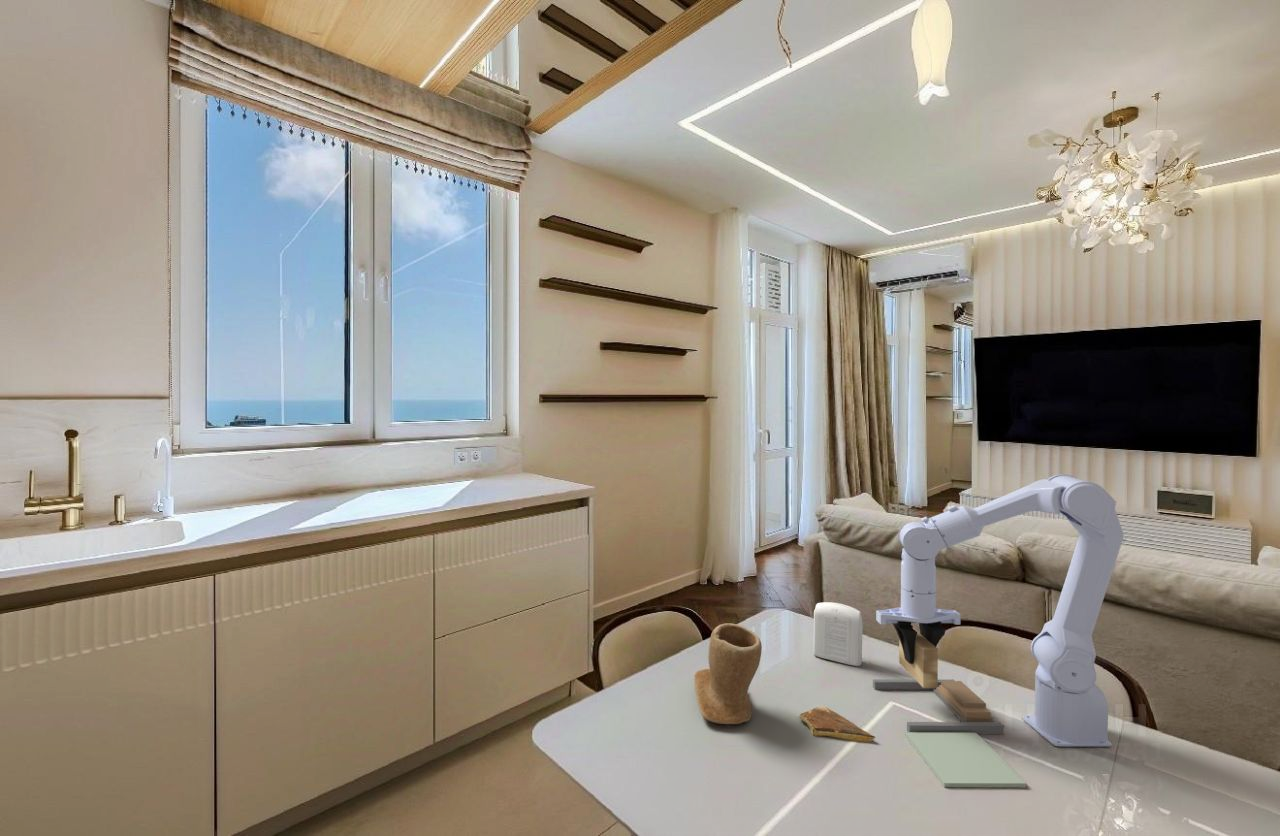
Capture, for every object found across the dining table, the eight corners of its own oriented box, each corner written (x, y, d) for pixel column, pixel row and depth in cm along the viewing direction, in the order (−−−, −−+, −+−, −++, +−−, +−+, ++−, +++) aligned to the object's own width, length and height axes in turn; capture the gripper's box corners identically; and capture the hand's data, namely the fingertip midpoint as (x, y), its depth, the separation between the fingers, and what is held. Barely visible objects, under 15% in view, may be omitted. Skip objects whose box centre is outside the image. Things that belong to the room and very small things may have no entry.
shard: (875, 745, 89) (875, 735, 89) (844, 761, 85) (844, 750, 85) (824, 712, 98) (824, 703, 98) (794, 725, 95) (794, 715, 95)
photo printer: (863, 660, 117) (863, 605, 116) (860, 669, 113) (860, 611, 113) (815, 649, 122) (815, 596, 122) (811, 657, 118) (811, 602, 118)
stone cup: (767, 731, 92) (767, 646, 92) (698, 729, 93) (698, 645, 92) (752, 684, 107) (752, 611, 107) (693, 683, 108) (693, 611, 107)
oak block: (912, 662, 103) (912, 627, 102) (937, 687, 94) (937, 648, 93) (899, 662, 103) (899, 627, 103) (923, 687, 94) (923, 648, 94)
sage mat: (976, 735, 90) (976, 732, 90) (1026, 787, 78) (1026, 783, 78) (905, 735, 91) (905, 732, 91) (944, 787, 79) (944, 783, 79)
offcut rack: (953, 686, 106) (953, 672, 106) (1003, 734, 91) (1004, 717, 91) (872, 686, 106) (872, 672, 106) (909, 733, 91) (909, 716, 91)
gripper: (945, 581, 102) (944, 650, 102) (869, 581, 102) (869, 651, 102) (967, 594, 95) (966, 669, 95) (885, 595, 95) (885, 669, 95)
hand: (917, 661), depth 98 cm, fingers closed on oak block, 2 cm apart
